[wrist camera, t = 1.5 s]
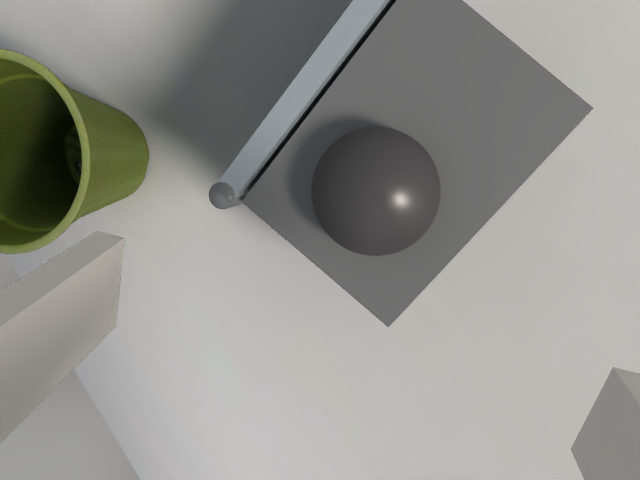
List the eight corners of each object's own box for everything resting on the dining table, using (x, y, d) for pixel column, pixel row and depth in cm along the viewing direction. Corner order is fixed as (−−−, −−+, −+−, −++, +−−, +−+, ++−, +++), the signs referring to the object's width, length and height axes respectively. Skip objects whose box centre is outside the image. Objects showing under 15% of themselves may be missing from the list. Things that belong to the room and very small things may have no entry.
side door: (490, -67, 33) (527, -182, 22) (283, 195, 39) (224, 214, 27) (467, -85, 33) (491, -210, 22) (264, 178, 39) (196, 190, 27)
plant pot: (207, 137, 40) (125, 132, 29) (128, 256, 43) (27, 293, 32) (87, 43, 40) (-38, 3, 29) (18, 167, 43) (-119, 173, 32)
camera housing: (536, 121, 35) (605, 105, 22) (398, 273, 39) (386, 338, 25) (422, 26, 35) (421, -46, 22) (295, 185, 39) (230, 204, 26)
